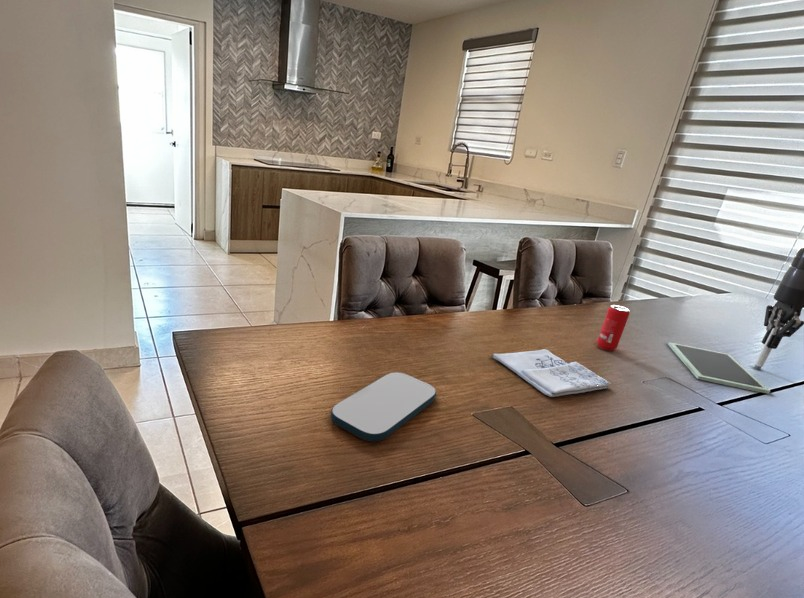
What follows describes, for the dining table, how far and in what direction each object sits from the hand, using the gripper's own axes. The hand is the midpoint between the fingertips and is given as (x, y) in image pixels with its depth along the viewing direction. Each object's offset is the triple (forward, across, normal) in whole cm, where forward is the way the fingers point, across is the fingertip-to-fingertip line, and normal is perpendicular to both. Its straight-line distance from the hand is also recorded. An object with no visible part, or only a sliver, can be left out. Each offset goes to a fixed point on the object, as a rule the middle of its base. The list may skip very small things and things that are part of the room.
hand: (768, 345), depth 128 cm
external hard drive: (+7, -67, +92) cm, 114 cm away
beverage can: (+7, -8, +41) cm, 42 cm away
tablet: (+7, -6, +13) cm, 16 cm away
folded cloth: (+7, -34, +59) cm, 68 cm away
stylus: (+7, 0, 0) cm, 7 cm away
